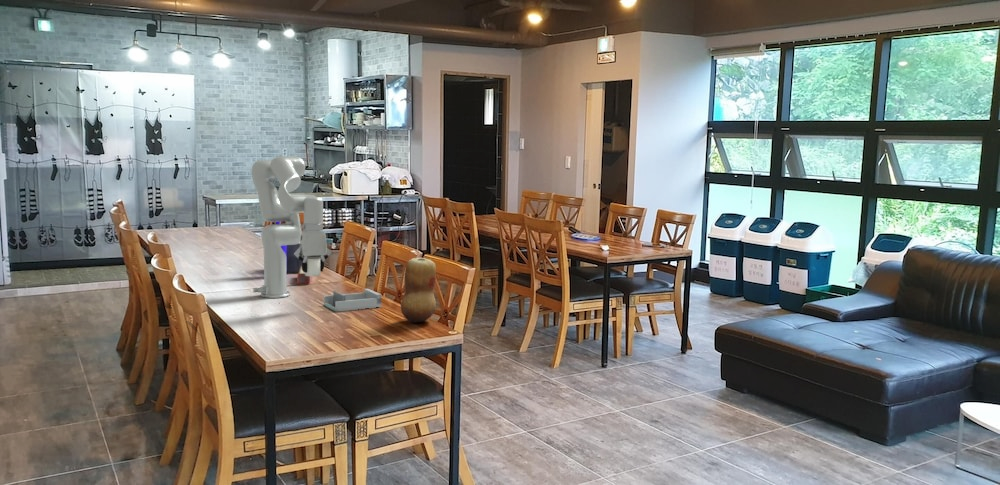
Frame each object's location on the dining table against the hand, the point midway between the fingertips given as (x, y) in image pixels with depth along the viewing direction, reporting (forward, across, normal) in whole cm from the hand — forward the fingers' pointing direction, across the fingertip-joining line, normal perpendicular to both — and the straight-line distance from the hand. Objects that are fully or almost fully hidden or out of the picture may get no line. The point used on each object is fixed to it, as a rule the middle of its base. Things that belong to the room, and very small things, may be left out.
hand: (312, 271), depth 312 cm
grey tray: (+16, +17, -1) cm, 23 cm away
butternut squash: (+15, +29, -38) cm, 50 cm away
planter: (+18, +24, +93) cm, 98 cm away
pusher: (+16, +17, -1) cm, 23 cm away
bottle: (+18, +10, +79) cm, 82 cm away
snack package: (+18, +18, +62) cm, 67 cm away
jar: (+2, 0, 0) cm, 2 cm away
